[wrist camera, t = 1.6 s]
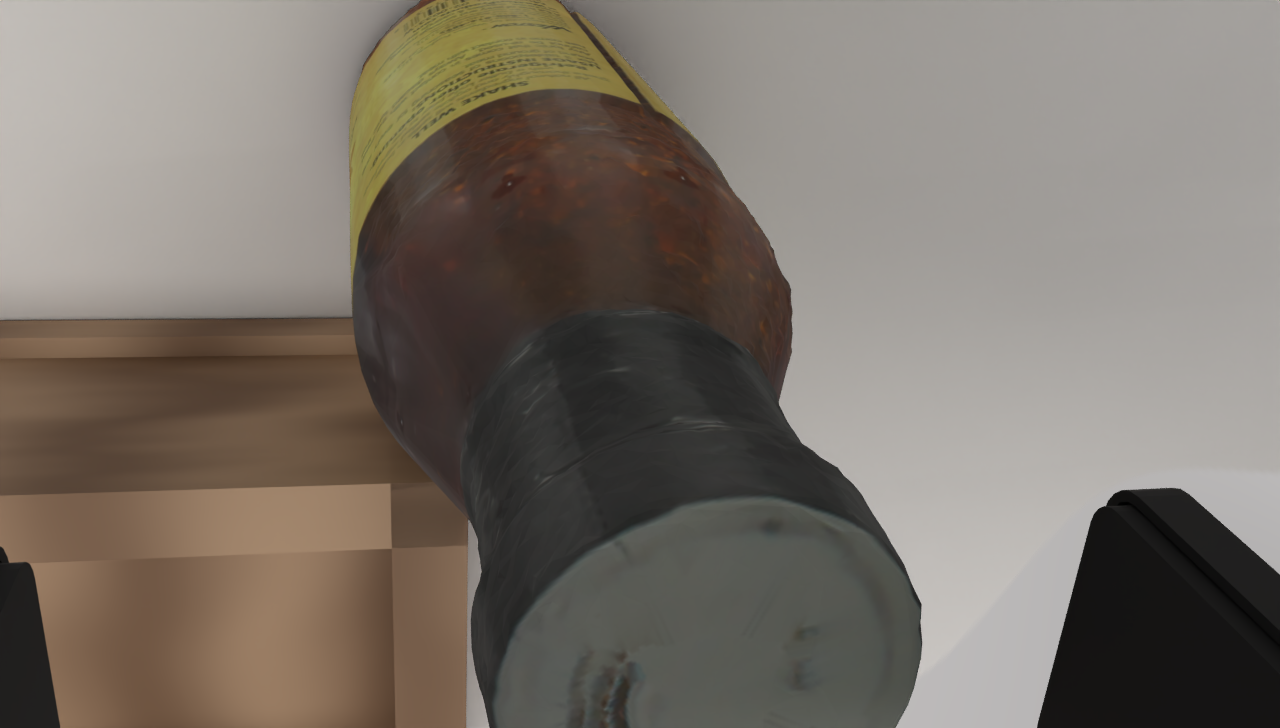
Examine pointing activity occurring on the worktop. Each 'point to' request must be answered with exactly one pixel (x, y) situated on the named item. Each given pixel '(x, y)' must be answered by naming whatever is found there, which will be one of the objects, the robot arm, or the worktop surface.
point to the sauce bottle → (605, 392)
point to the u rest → (226, 529)
